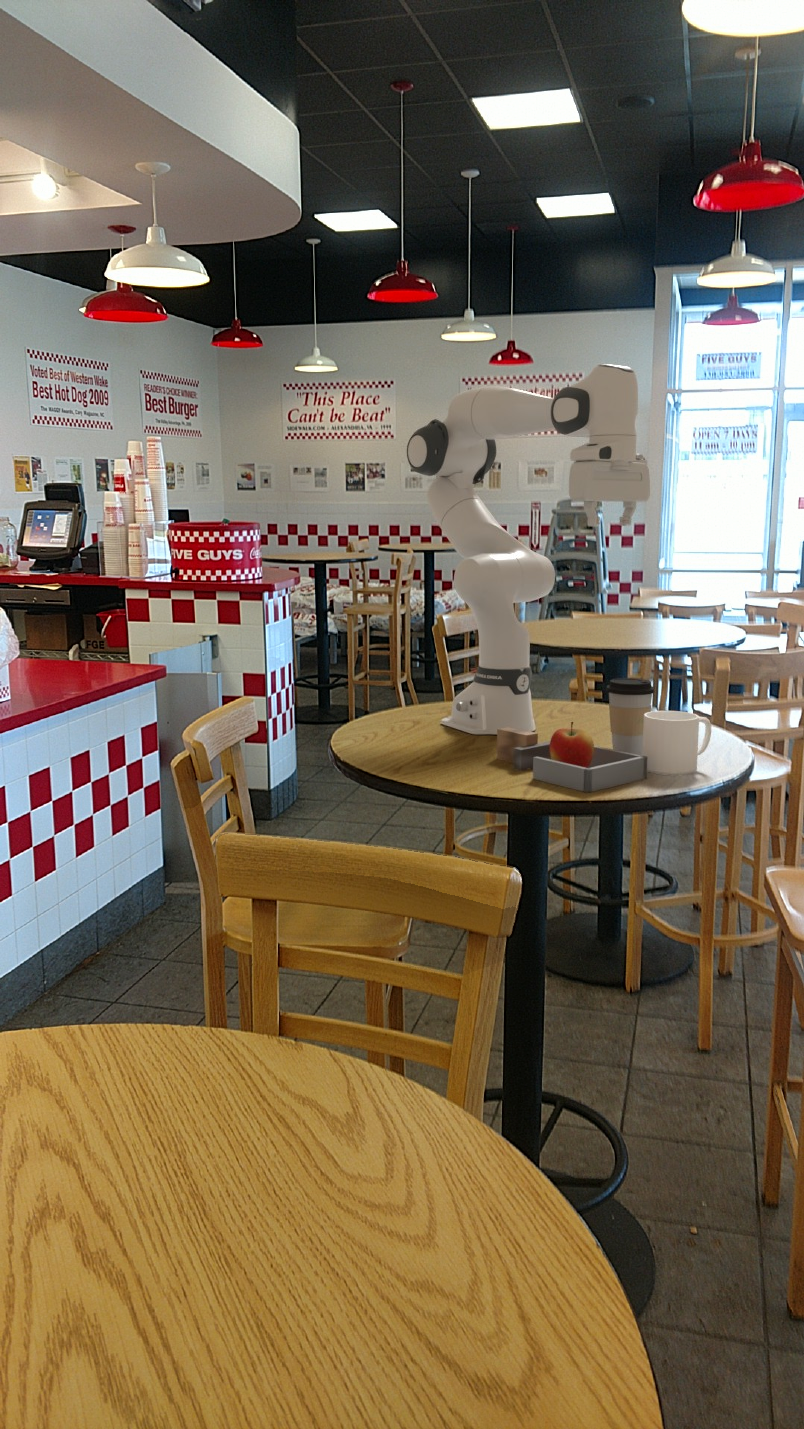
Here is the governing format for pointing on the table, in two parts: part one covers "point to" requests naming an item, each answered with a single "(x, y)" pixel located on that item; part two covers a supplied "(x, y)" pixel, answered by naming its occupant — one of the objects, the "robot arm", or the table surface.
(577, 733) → the apple
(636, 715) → the coffee cup
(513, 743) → the tan grey t-shaped block
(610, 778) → the tray
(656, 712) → the mug
